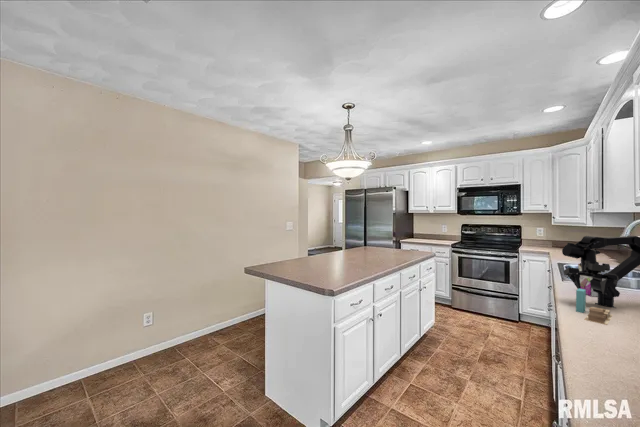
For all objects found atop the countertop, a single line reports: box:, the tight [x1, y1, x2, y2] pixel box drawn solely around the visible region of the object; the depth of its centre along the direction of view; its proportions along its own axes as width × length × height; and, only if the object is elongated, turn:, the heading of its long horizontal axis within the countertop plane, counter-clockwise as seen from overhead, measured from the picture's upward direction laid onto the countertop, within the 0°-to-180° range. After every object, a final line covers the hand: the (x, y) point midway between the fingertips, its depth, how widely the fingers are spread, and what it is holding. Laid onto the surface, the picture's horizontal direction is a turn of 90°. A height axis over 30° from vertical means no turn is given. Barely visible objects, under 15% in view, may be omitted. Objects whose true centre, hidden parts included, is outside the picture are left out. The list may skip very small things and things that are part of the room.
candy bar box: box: [577, 263, 602, 298], centre depth 162 cm, size 11×5×16 cm, turn 168°
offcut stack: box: [587, 306, 606, 324], centre depth 121 cm, size 5×5×4 cm
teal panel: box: [575, 289, 587, 314], centre depth 132 cm, size 5×2×11 cm, turn 128°
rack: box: [584, 306, 613, 326], centre depth 124 cm, size 18×7×4 cm, turn 129°
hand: (591, 292), depth 135 cm, fingers open, 9 cm apart
